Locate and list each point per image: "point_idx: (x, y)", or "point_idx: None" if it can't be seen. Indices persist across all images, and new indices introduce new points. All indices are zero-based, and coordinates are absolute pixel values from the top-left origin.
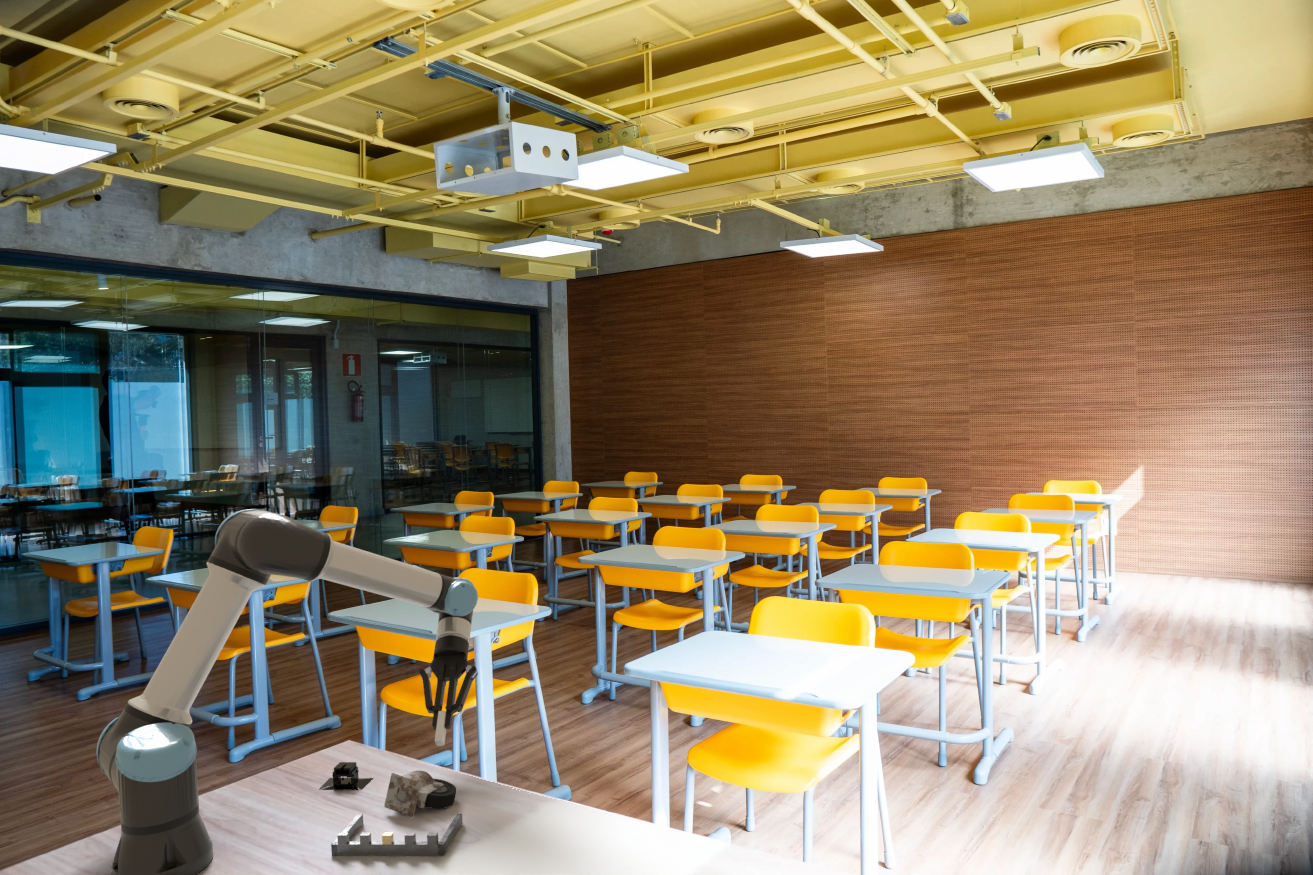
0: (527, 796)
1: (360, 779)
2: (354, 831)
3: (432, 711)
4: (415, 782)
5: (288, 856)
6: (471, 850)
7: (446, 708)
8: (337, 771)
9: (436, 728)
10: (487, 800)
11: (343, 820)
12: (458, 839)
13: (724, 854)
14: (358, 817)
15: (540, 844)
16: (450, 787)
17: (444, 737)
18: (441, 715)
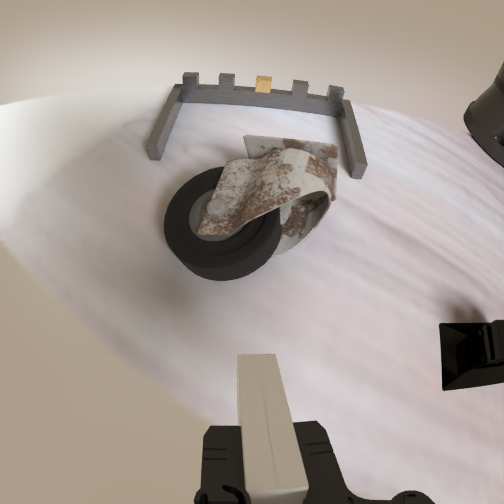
0: (21, 250)
1: (465, 370)
2: (347, 147)
3: (361, 499)
4: (259, 137)
5: (401, 124)
6: (137, 106)
7: (234, 484)
8: None
9: (284, 395)
10: (97, 241)
11: (395, 195)
12: None
13: None
14: (357, 153)
15: (49, 122)
16: (181, 237)
17: (238, 416)
18: (273, 459)
